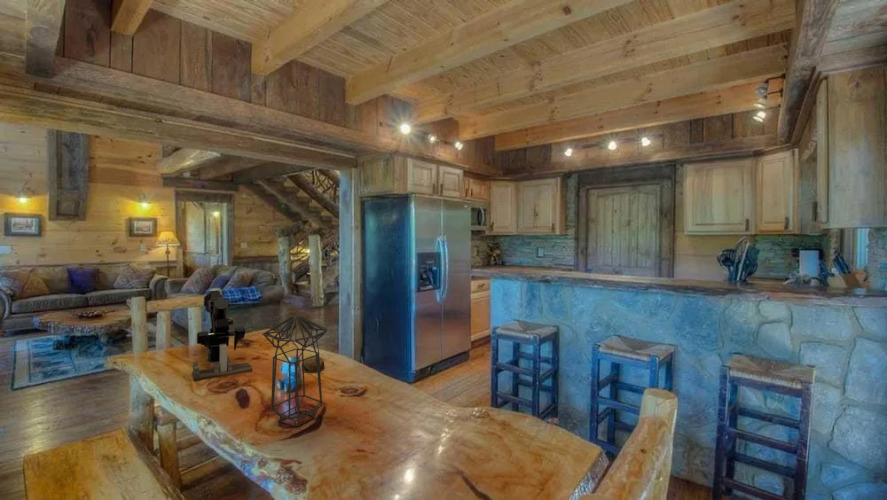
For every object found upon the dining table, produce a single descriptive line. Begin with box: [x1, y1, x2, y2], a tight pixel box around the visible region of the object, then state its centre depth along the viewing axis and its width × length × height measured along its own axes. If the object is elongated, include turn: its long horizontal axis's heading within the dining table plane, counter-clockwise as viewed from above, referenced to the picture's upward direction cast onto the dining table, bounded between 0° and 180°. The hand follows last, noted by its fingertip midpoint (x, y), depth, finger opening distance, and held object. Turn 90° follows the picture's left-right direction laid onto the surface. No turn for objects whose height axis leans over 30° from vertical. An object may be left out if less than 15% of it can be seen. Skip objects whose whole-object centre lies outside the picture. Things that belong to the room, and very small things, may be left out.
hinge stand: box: [192, 359, 253, 382], centre depth 172 cm, size 11×22×5 cm, turn 126°
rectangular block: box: [218, 344, 230, 372], centre depth 172 cm, size 5×3×11 cm, turn 35°
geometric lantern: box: [261, 314, 329, 428], centre depth 127 cm, size 16×16×35 cm
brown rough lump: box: [301, 355, 325, 373], centre depth 177 cm, size 10×10×8 cm
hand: (223, 351), depth 170 cm, fingers open, 9 cm apart
